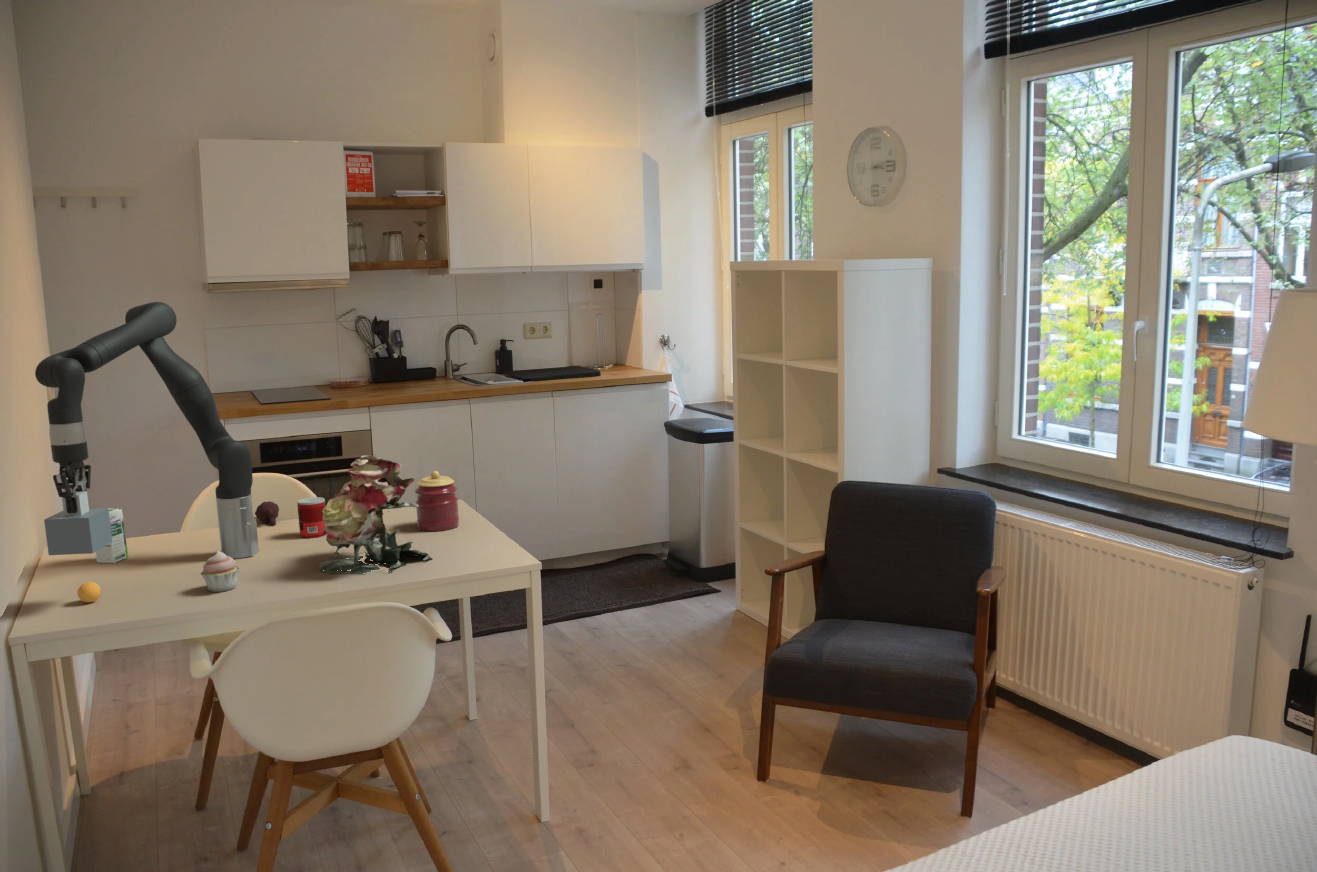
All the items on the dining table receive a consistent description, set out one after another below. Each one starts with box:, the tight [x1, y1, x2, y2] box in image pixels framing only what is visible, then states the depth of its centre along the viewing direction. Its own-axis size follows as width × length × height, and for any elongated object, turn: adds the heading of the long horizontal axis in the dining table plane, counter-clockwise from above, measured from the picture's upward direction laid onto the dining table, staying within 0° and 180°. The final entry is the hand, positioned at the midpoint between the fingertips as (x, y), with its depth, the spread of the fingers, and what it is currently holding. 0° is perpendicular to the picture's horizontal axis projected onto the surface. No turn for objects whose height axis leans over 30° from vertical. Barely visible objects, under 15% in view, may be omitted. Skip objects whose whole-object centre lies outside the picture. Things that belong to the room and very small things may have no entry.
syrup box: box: [95, 507, 129, 564], centre depth 284 cm, size 6×6×14 cm
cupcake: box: [199, 550, 241, 593], centre depth 256 cm, size 9×9×10 cm
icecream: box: [254, 501, 280, 526], centre depth 325 cm, size 7×7×15 cm
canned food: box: [296, 496, 327, 539], centre depth 307 cm, size 8×8×11 cm
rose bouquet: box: [319, 454, 433, 576], centre depth 273 cm, size 26×29×30 cm
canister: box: [414, 470, 460, 532], centre depth 313 cm, size 13×13×18 cm
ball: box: [77, 581, 102, 603], centre depth 248 cm, size 5×5×5 cm
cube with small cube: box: [43, 490, 112, 556], centre depth 245 cm, size 10×10×14 cm
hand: (77, 510), depth 245 cm, fingers closed on cube with small cube, 4 cm apart
